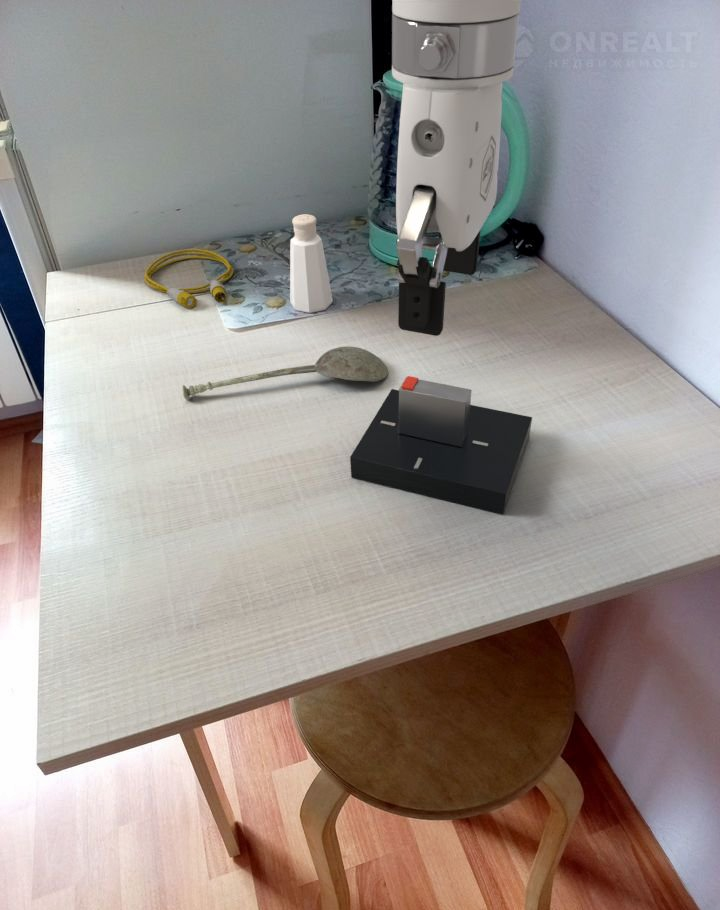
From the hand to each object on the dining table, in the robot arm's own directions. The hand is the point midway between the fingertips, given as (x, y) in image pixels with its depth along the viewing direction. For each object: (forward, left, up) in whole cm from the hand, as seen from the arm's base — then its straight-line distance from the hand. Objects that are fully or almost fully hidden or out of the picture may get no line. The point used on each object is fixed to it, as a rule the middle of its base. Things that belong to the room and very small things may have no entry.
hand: (439, 299), depth 54 cm
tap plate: (-1, -1, -17) cm, 17 cm away
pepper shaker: (+23, -24, -17) cm, 38 cm away
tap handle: (0, -1, -14) cm, 14 cm away
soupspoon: (+18, -7, -17) cm, 26 cm away
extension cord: (+41, -24, -17) cm, 51 cm away
